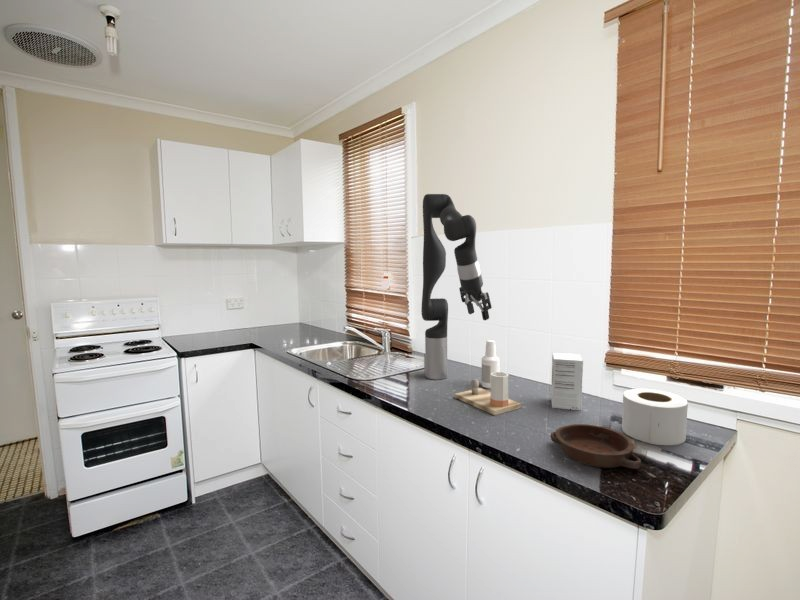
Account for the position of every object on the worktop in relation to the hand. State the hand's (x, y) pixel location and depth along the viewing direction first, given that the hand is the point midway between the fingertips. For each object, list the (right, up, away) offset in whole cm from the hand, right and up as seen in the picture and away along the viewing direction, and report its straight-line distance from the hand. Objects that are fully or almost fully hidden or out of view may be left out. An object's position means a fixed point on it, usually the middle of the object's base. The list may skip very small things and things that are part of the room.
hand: (478, 316), depth 147 cm
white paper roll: (+44, -32, -29) cm, 62 cm away
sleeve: (+5, -29, -9) cm, 31 cm away
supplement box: (+28, -30, -6) cm, 42 cm away
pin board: (+2, -30, -3) cm, 30 cm away
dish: (+21, -34, -42) cm, 58 cm away
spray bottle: (+7, -28, +15) cm, 33 cm away
